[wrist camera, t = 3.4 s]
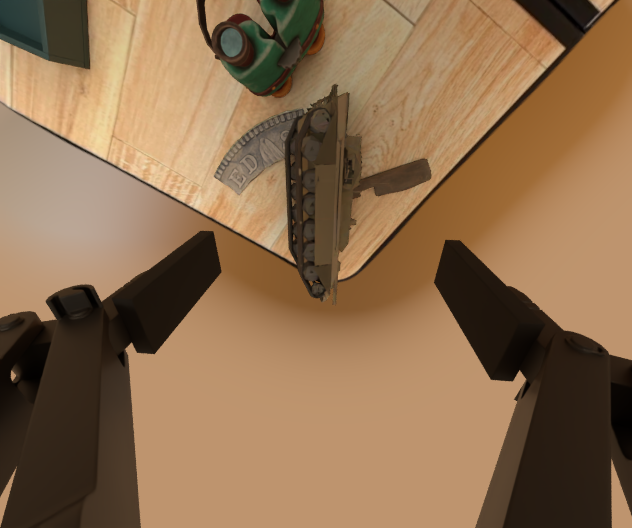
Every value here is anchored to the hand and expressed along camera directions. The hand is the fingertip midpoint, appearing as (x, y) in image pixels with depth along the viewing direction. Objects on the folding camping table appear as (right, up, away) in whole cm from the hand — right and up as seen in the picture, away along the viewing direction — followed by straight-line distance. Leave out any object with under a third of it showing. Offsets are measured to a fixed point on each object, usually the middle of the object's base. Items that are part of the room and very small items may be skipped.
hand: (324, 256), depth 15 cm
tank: (-3, +4, +11) cm, 12 cm away
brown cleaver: (+8, +6, +15) cm, 18 cm away
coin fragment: (-5, +10, +14) cm, 18 cm away
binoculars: (-5, +21, +8) cm, 23 cm away
